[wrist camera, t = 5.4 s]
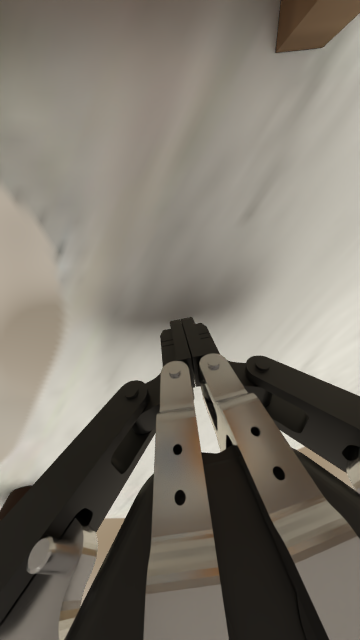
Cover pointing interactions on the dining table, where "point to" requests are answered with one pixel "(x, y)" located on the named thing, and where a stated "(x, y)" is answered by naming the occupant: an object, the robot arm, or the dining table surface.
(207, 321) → the dining table surface
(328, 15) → the bridge
